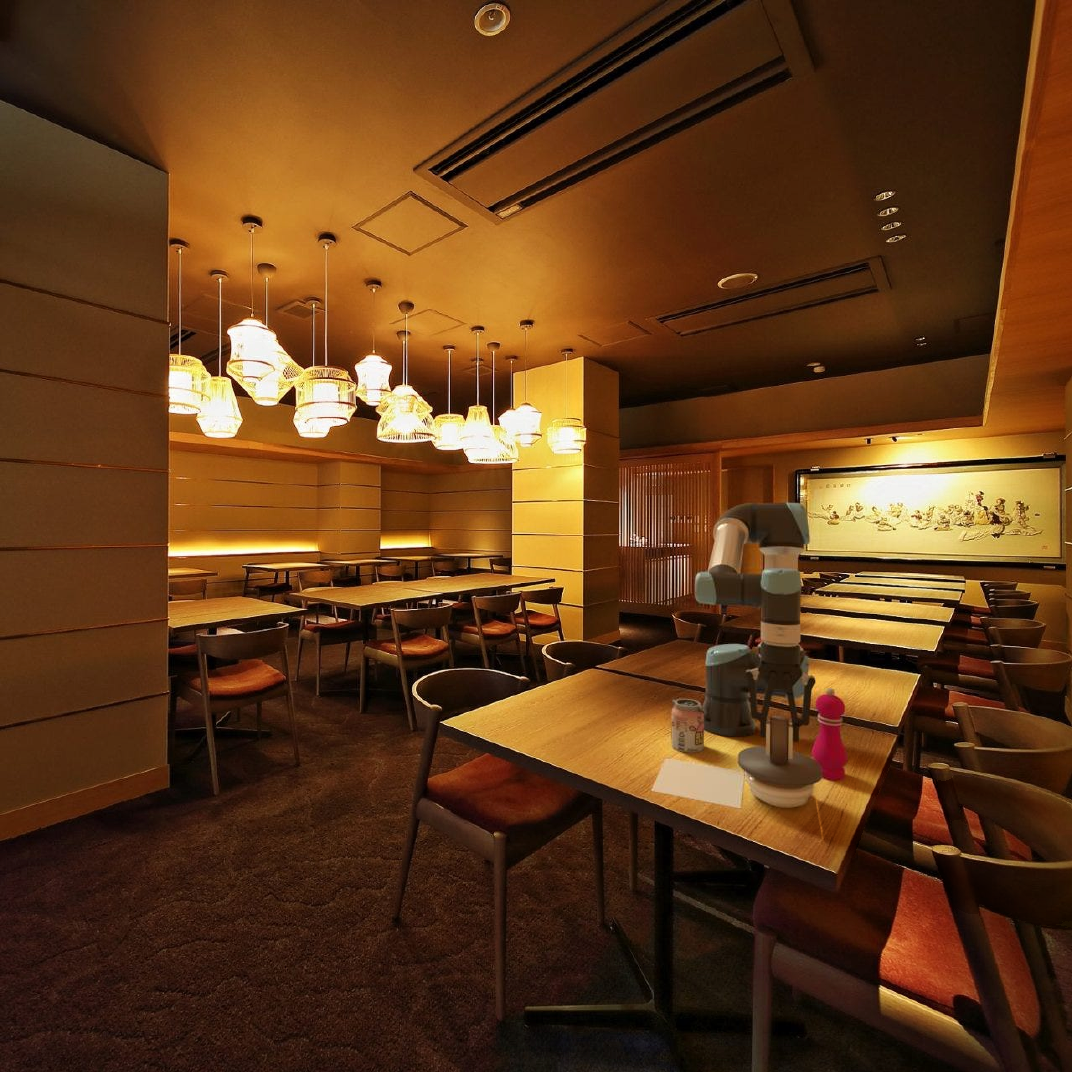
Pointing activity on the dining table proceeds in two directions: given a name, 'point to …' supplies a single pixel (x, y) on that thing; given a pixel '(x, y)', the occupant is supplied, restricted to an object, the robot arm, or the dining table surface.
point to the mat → (700, 782)
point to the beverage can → (687, 726)
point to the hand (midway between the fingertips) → (778, 754)
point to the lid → (780, 759)
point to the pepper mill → (830, 737)
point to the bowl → (779, 792)
